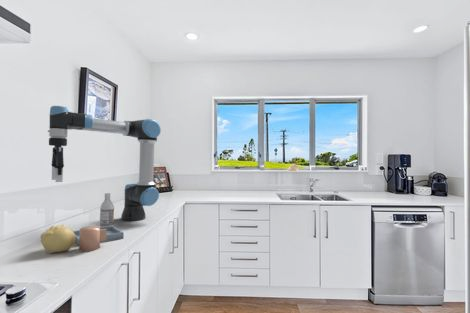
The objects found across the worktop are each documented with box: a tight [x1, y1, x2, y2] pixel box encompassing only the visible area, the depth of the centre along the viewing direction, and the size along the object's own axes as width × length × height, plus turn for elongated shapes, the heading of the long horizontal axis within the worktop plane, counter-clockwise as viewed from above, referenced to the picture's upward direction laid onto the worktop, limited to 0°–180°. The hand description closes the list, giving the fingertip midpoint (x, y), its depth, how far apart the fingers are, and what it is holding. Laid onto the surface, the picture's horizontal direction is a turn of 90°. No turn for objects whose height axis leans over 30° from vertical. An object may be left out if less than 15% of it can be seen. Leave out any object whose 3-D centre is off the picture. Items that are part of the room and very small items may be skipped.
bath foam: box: [99, 192, 115, 228], centre depth 154 cm, size 7×7×20 cm
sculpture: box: [40, 224, 75, 254], centre depth 118 cm, size 12×12×11 cm
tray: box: [72, 225, 125, 247], centre depth 136 cm, size 20×16×3 cm
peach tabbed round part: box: [78, 225, 107, 252], centre depth 122 cm, size 8×11×9 cm
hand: (56, 180), depth 135 cm, fingers open, 13 cm apart
